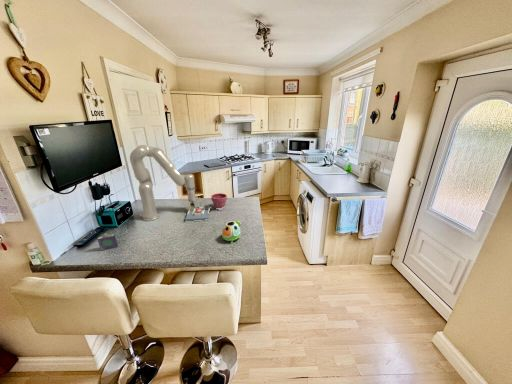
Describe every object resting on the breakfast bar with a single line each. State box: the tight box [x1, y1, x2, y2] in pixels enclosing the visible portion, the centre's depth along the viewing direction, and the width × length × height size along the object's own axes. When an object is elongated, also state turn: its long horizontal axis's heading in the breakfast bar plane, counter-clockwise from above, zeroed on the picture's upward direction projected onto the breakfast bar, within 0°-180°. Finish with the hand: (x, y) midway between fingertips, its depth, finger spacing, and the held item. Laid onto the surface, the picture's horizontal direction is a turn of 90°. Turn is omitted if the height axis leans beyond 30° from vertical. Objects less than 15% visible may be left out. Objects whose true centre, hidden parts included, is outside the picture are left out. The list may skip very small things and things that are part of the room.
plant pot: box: [210, 192, 228, 209], centre depth 186 cm, size 14×14×13 cm
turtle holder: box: [221, 220, 242, 243], centre depth 141 cm, size 12×18×12 cm
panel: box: [185, 206, 212, 222], centre depth 175 cm, size 18×24×4 cm
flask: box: [97, 232, 119, 252], centre depth 128 cm, size 9×3×11 cm, turn 117°
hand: (192, 207), depth 182 cm, fingers closed
